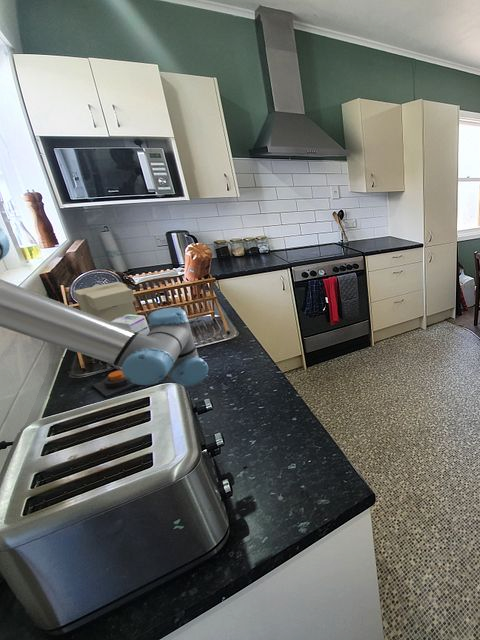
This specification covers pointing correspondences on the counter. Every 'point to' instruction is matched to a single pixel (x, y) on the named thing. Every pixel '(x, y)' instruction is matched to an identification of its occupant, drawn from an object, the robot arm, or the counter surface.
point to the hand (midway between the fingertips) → (127, 333)
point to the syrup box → (133, 323)
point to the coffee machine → (107, 302)
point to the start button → (116, 375)
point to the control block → (113, 386)
